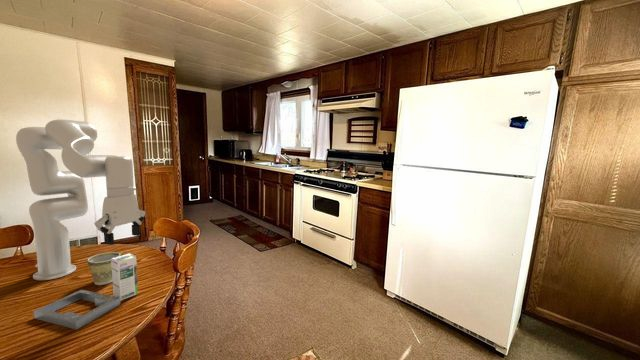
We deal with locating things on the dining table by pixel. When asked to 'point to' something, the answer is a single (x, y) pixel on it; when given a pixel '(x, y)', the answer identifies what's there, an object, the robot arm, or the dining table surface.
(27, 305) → the dining table surface
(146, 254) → the dining table surface
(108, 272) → the ceramic cup
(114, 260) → the syrup box
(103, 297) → the grey rectangular frame
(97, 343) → the dining table surface
